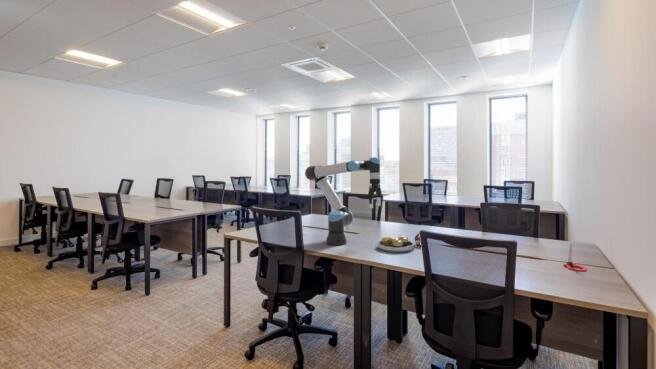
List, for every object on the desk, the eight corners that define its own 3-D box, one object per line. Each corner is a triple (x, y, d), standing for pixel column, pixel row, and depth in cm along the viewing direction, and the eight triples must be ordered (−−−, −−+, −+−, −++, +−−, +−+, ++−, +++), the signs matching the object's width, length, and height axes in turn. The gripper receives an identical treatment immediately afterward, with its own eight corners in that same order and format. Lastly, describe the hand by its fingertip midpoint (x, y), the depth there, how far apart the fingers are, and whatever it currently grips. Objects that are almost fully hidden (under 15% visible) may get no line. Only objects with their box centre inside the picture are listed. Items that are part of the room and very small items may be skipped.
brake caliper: (430, 239, 237) (431, 228, 229) (431, 252, 229) (431, 241, 221) (414, 239, 240) (414, 228, 232) (414, 251, 232) (414, 240, 224)
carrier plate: (372, 250, 221) (372, 239, 221) (386, 242, 242) (386, 232, 241) (407, 254, 208) (407, 243, 208) (418, 246, 229) (418, 236, 228)
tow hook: (590, 271, 172) (575, 265, 181) (592, 248, 170) (576, 243, 179) (576, 272, 171) (561, 266, 180) (577, 249, 169) (562, 243, 178)
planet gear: (380, 245, 227) (380, 238, 227) (384, 243, 233) (384, 236, 233) (390, 246, 223) (390, 239, 223) (394, 244, 230) (394, 237, 229)
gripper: (372, 179, 227) (372, 209, 228) (386, 177, 247) (386, 205, 249) (362, 179, 231) (363, 208, 232) (377, 177, 252) (377, 204, 253)
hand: (375, 207), depth 240 cm, fingers open, 13 cm apart
